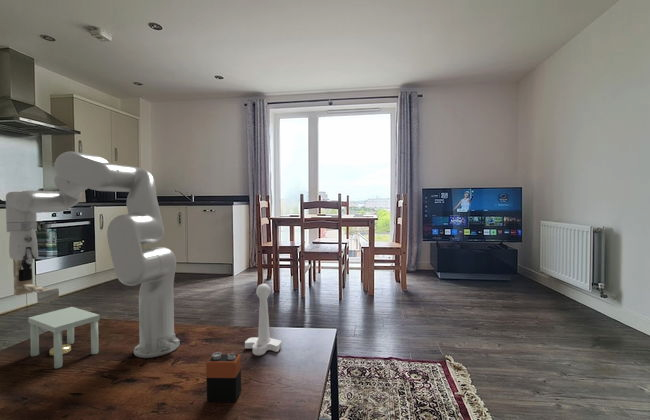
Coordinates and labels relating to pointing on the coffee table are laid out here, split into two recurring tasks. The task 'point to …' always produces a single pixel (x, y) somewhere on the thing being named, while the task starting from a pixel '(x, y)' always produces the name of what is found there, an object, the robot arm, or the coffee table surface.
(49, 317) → the stand
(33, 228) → the robot arm
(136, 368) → the coffee table surface
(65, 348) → the token
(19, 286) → the hoe
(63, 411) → the coffee table surface
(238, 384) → the battery
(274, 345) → the joystick
